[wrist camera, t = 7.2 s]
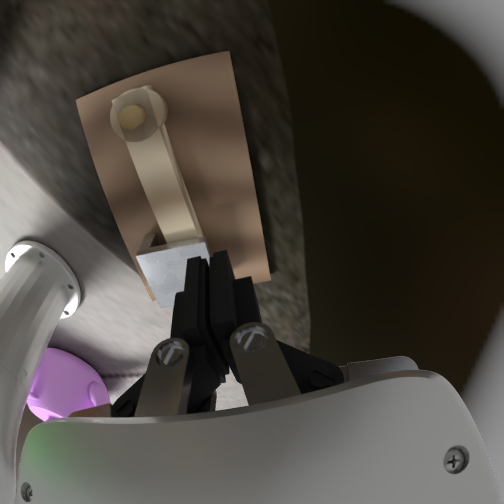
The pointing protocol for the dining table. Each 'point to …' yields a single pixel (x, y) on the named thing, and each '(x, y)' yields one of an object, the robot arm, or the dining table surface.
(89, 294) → the dining table surface
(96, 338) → the dining table surface
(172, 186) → the oak link
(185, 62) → the walnut board
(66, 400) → the teapot
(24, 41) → the dining table surface
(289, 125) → the dining table surface
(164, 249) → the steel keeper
